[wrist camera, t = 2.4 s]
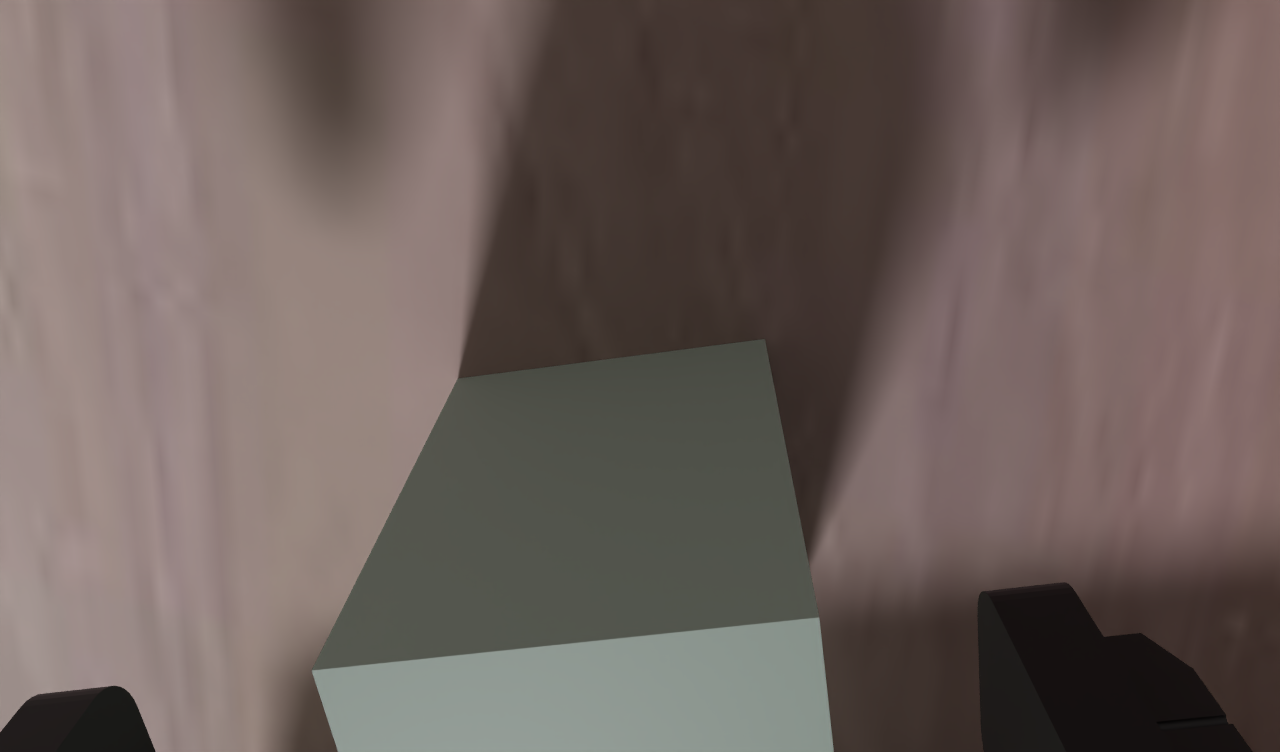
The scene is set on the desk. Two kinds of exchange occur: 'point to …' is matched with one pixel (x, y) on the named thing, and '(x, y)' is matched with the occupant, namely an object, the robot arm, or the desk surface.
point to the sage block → (590, 572)
